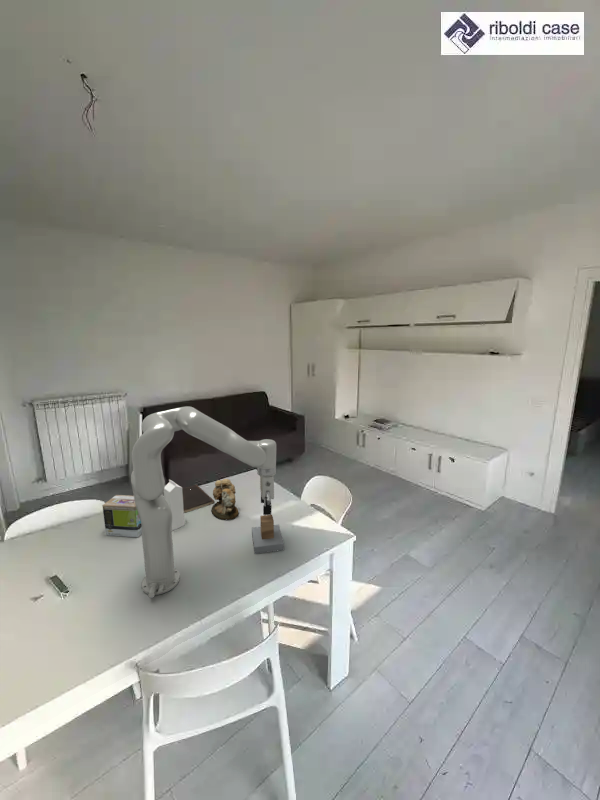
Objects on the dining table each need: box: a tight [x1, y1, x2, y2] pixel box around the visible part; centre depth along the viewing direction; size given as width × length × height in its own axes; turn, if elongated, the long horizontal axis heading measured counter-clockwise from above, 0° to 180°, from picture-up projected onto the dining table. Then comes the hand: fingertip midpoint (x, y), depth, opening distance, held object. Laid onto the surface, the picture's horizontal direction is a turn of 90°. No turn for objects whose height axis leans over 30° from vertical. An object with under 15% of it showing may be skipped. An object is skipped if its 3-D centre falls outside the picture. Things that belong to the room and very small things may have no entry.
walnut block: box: [260, 514, 275, 539], centre depth 143 cm, size 5×5×8 cm
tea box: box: [101, 494, 142, 538], centre depth 149 cm, size 15×10×15 cm
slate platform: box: [251, 524, 285, 555], centre depth 144 cm, size 14×12×3 cm
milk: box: [163, 478, 186, 532], centre depth 153 cm, size 6×6×22 cm
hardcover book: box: [182, 484, 216, 514], centre depth 179 cm, size 16×23×2 cm
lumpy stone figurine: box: [211, 478, 240, 521], centre depth 166 cm, size 18×12×17 cm, turn 42°
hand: (265, 508), depth 141 cm, fingers open, 9 cm apart
